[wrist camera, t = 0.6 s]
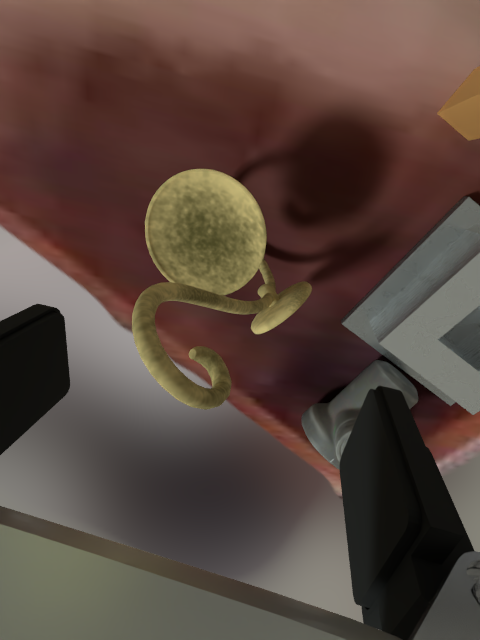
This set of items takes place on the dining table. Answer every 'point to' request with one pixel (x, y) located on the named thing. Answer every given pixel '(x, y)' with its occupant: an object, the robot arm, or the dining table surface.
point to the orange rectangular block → (465, 107)
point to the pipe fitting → (350, 409)
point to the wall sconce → (206, 272)
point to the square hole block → (432, 309)
